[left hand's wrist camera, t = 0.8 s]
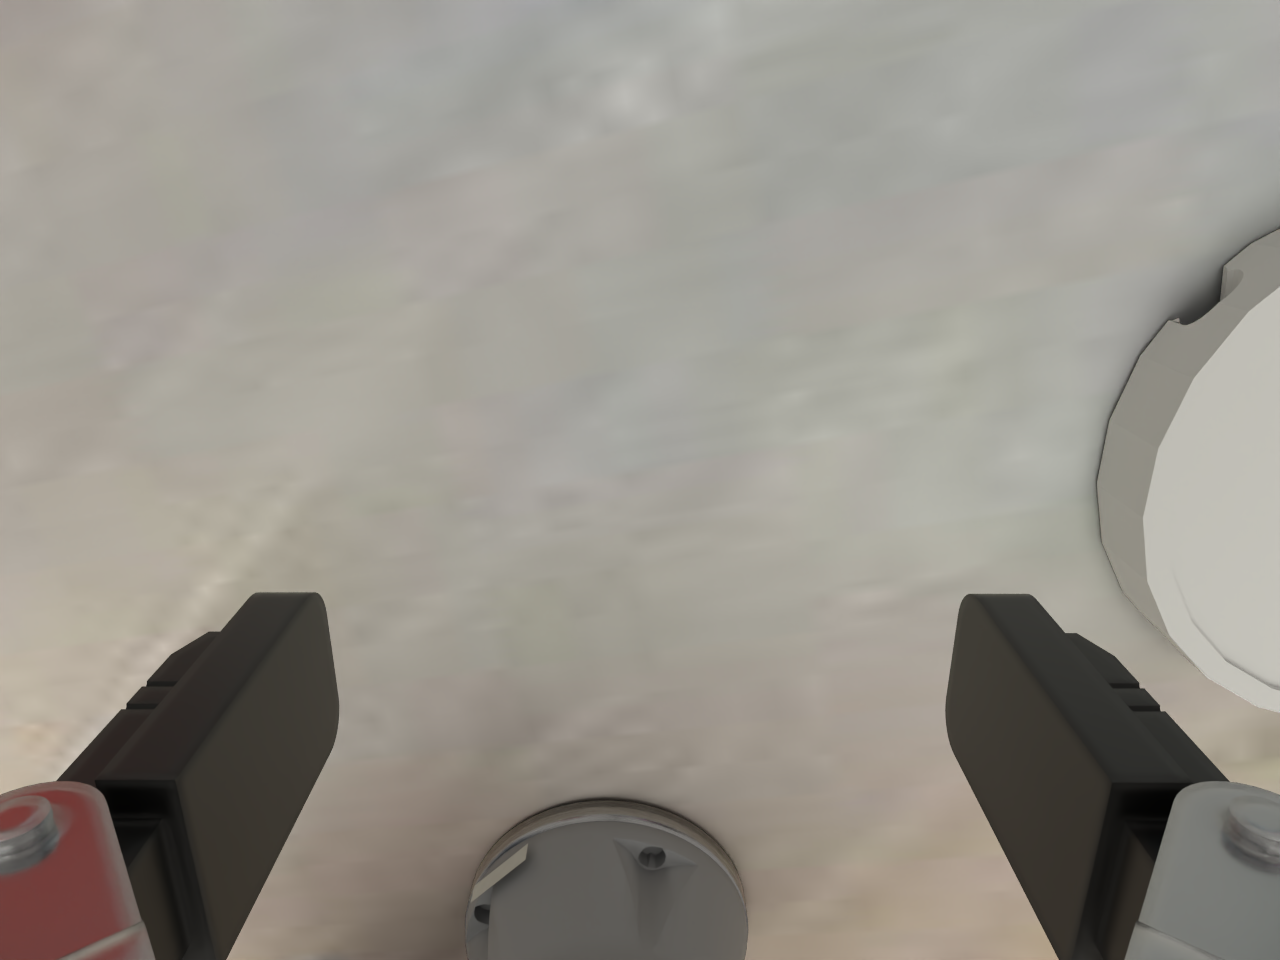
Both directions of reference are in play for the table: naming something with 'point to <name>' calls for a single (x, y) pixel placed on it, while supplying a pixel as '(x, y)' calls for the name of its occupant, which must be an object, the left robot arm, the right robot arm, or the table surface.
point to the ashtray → (1206, 482)
